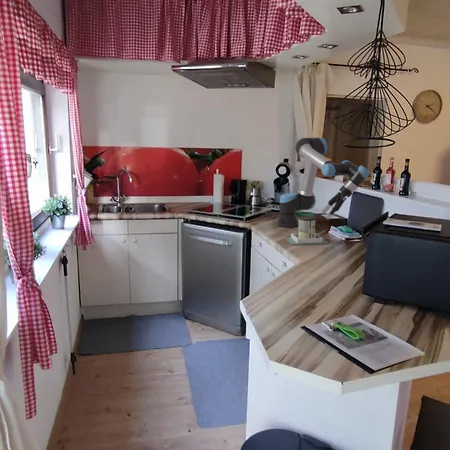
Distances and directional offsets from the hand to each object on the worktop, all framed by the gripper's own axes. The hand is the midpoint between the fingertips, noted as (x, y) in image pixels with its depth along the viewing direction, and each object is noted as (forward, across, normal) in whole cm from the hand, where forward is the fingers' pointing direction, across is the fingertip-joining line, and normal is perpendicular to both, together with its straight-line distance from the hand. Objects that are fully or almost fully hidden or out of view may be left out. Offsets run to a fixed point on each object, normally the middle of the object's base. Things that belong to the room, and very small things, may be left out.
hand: (324, 215), depth 249 cm
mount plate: (+19, -4, -1) cm, 19 cm away
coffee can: (+18, -4, -1) cm, 19 cm away
